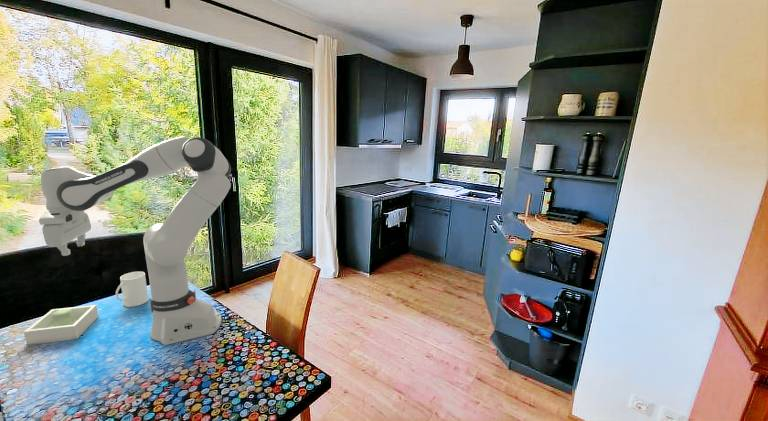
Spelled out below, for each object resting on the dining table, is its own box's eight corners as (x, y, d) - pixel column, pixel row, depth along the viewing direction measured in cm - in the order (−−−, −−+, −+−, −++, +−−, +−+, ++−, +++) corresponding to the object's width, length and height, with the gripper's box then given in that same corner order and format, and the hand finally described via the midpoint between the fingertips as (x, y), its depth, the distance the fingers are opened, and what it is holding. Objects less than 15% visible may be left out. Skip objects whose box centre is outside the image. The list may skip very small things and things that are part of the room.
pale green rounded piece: (59, 324, 111) (56, 309, 109) (77, 322, 112) (74, 307, 111) (50, 332, 106) (47, 317, 105) (69, 330, 108) (66, 315, 106)
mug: (125, 312, 122) (121, 284, 119) (109, 308, 124) (104, 281, 121) (153, 298, 133) (150, 272, 130) (138, 295, 135) (135, 269, 132)
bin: (98, 316, 118) (96, 304, 117) (77, 338, 105) (74, 325, 104) (54, 321, 114) (51, 309, 113) (26, 345, 101) (23, 331, 100)
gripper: (71, 206, 116) (78, 241, 119) (34, 221, 97) (44, 261, 101) (92, 206, 118) (99, 240, 121) (60, 220, 100) (69, 259, 103)
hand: (74, 250), depth 111 cm, fingers open, 8 cm apart
